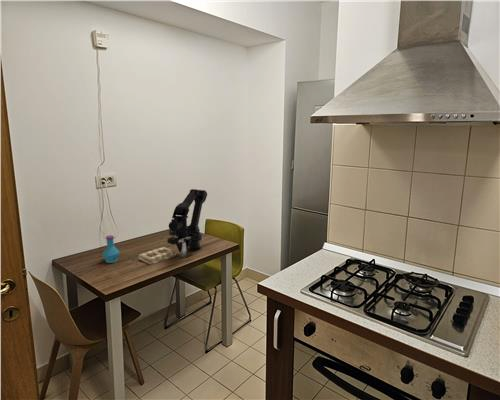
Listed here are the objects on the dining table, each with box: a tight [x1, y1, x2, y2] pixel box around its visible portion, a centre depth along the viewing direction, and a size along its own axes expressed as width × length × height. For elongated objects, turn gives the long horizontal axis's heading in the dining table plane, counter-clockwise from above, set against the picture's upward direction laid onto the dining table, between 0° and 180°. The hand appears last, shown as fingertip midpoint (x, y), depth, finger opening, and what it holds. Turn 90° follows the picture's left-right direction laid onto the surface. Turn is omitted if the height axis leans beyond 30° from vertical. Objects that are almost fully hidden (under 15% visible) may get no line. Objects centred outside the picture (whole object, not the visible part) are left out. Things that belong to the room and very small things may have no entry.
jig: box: [138, 246, 177, 265], centre depth 208 cm, size 18×12×3 cm, turn 141°
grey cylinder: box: [179, 240, 188, 258], centre depth 210 cm, size 4×4×9 cm
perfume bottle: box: [102, 234, 120, 263], centre depth 202 cm, size 9×9×15 cm
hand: (183, 251), depth 210 cm, fingers closed on grey cylinder, 4 cm apart
